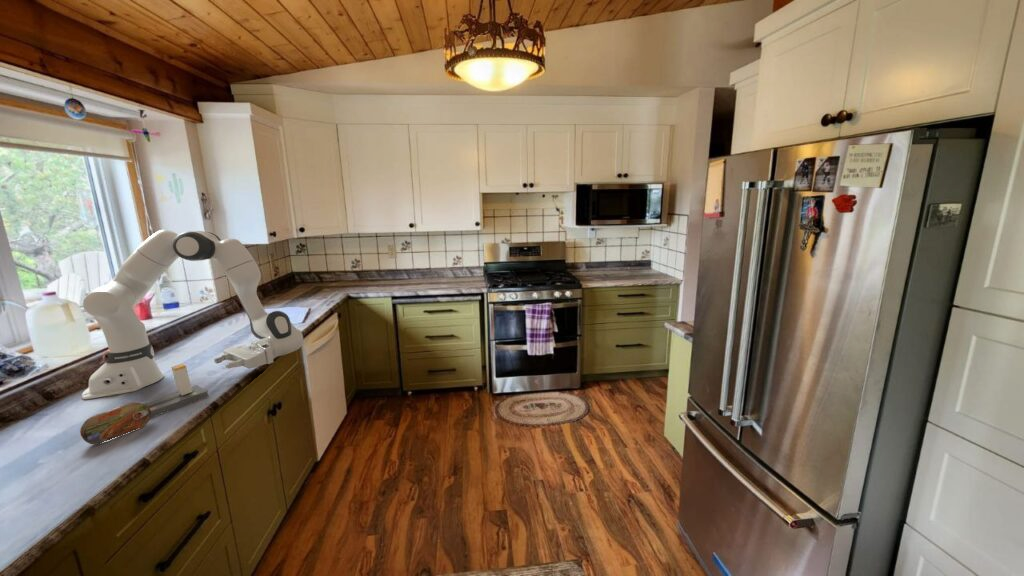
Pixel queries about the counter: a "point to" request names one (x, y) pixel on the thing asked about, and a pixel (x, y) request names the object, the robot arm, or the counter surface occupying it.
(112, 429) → the tin
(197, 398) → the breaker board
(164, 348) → the counter surface
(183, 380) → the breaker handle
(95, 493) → the counter surface
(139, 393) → the counter surface
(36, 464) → the counter surface
